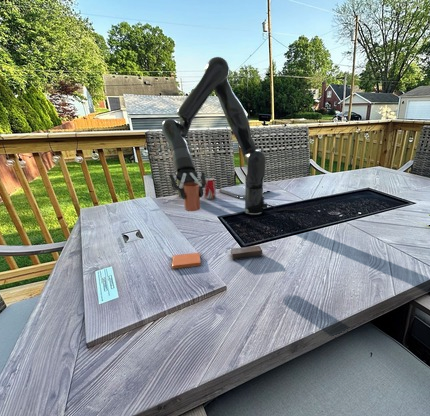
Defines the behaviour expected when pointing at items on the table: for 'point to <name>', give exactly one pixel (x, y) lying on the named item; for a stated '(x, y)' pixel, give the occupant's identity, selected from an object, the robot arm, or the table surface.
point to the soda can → (210, 188)
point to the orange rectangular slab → (186, 260)
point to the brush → (246, 252)
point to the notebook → (234, 191)
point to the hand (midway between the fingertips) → (192, 197)
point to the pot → (191, 196)
